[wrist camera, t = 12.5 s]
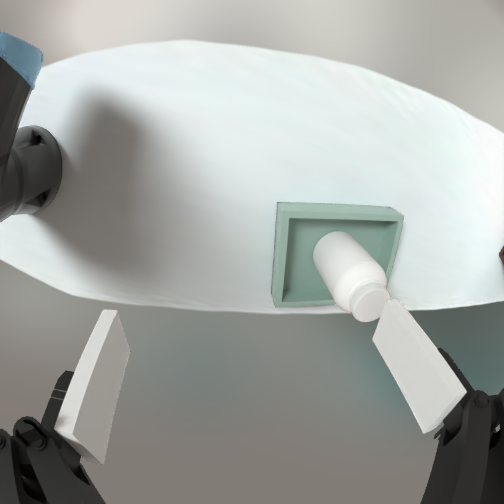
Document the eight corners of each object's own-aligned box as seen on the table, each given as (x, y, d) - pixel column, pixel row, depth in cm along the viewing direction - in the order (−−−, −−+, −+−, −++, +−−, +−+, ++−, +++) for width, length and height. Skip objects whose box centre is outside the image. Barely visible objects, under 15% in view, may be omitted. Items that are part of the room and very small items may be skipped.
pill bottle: (321, 280, 47) (352, 339, 34) (304, 243, 44) (336, 297, 31) (361, 260, 46) (403, 311, 33) (348, 221, 43) (395, 266, 30)
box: (271, 292, 49) (274, 307, 45) (277, 202, 42) (282, 211, 38) (372, 287, 50) (382, 300, 46) (390, 207, 44) (404, 215, 40)
